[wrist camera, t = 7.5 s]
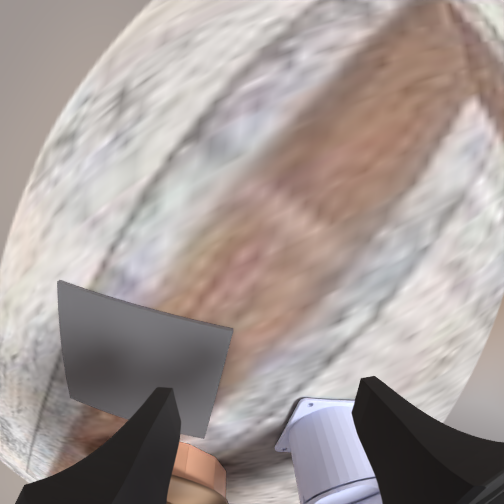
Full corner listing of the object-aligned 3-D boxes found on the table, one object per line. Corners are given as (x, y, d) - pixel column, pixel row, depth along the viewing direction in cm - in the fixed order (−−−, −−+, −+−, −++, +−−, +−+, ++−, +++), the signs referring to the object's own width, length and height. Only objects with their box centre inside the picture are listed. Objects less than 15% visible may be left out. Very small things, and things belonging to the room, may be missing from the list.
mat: (233, 328, 20) (233, 331, 19) (204, 435, 23) (204, 438, 22) (59, 280, 18) (57, 281, 18) (71, 395, 21) (70, 397, 21)
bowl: (234, 451, 24) (234, 490, 19) (215, 495, 27) (213, 524, 22) (112, 422, 22) (98, 457, 18) (121, 474, 25) (112, 501, 21)
